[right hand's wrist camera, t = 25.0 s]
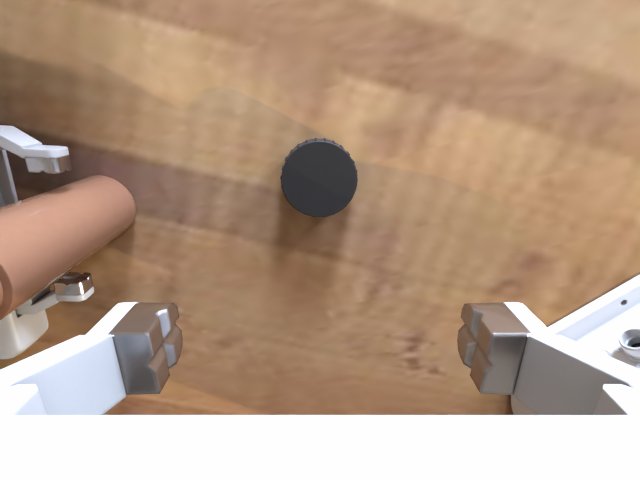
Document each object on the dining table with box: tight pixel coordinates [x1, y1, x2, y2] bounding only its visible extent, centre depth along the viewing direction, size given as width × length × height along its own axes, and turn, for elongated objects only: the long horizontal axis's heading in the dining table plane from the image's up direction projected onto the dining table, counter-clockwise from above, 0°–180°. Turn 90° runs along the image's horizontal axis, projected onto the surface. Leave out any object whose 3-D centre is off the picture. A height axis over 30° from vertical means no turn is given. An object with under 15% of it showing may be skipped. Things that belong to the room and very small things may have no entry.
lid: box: [281, 138, 358, 217], centre depth 28 cm, size 6×6×2 cm
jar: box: [0, 175, 136, 320], centre depth 23 cm, size 5×5×15 cm
